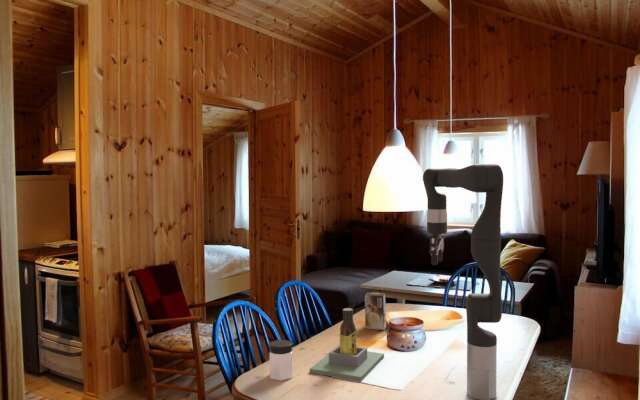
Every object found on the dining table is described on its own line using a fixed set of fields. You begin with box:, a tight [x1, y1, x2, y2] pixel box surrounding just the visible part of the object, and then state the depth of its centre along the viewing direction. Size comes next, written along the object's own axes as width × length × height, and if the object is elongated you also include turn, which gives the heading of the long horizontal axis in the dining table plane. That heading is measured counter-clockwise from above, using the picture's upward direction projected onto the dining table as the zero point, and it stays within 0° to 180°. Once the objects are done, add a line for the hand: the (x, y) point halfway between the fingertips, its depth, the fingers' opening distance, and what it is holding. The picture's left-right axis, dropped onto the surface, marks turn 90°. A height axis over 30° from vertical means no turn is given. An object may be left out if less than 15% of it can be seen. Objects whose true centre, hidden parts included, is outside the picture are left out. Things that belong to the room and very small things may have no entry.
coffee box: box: [364, 291, 387, 331], centre depth 249 cm, size 9×6×16 cm
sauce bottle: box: [339, 307, 357, 356], centre depth 201 cm, size 7×6×20 cm
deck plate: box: [309, 344, 385, 382], centre depth 201 cm, size 26×20×6 cm
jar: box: [268, 339, 293, 382], centre depth 191 cm, size 9×8×12 cm
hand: (436, 263), depth 202 cm, fingers open, 8 cm apart
